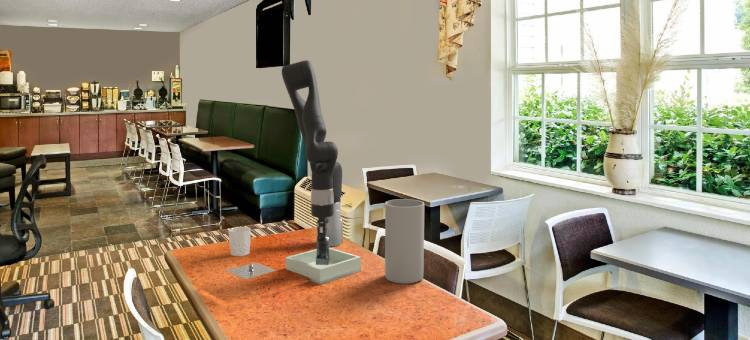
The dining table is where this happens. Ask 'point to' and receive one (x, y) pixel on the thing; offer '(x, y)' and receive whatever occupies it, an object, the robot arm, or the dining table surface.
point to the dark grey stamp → (323, 258)
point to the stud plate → (251, 270)
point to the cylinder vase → (404, 240)
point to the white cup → (239, 241)
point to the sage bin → (321, 274)
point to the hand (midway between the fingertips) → (323, 251)
